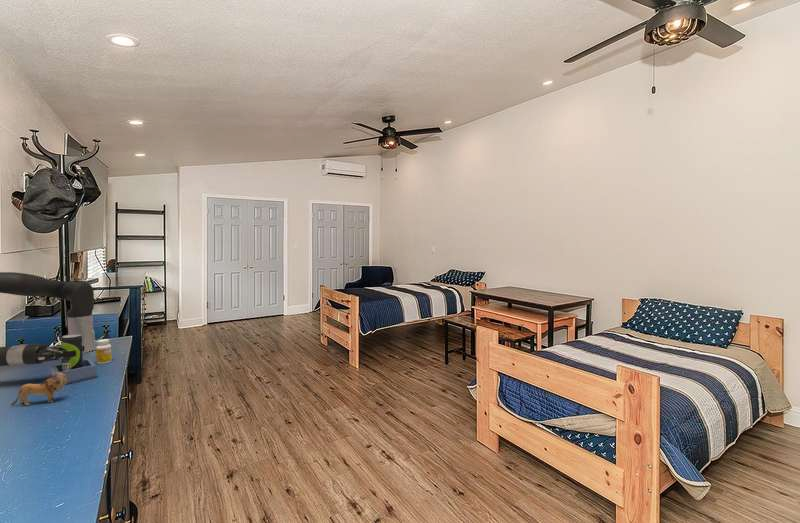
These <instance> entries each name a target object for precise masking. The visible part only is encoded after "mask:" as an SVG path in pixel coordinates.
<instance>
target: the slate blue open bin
mask: <svg viewBox="0 0 800 523" xmlns="http://www.w3.org/2000/svg"><path fill="white" fill-rule="evenodd" d="M50 366H51V367H50V368H51V377H53V376H54V375H55V374H58V373H62V374H65V375H66V380H67V382H66V384H67V385H70V384H69V383H71V384H75V383H79V381H80V382H82V381H83V380H84V381H88V380H87V379H89V380H93V379H97V378H98V375H97V374H98V373H97V364H95V362H94V361H93V360H92V358H86V359H85V358H84V359H83V367H81V368H76V369H71V370H66V371H62V363H59V364H53V365H50ZM74 382H75V383H74Z"/></svg>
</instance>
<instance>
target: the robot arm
mask: <svg viewBox="0 0 800 523" xmlns="http://www.w3.org/2000/svg"><path fill="white" fill-rule="evenodd" d="M94 291H95V290H94V288H93V285H91V284H90V283H88V282H85V281H84V282H83V281H60V280H52V279H49V278H46V277H44V276H43V277H42V276H40V275H35V274H29V273H25V272H24V273H23V272H12V271H11V272H10V271H5V272H4V271H1V272H0V294H5V295H6V294H7V295H14V296H21V297H22V296H23V297H50V298H54V299H55V298H56V299H60V300H66V301H69V302H71V308H70V309H68V310H67V312H66V318H67V319H66V321H67V322H66V323H67V331H68V332H67V335H70V334H81V336H82V351H83V354H86V353H89V351H90V352H93V351H96V347H97V346H96V336H95V335H96V334H95V330H94V321H93V310H94V308H95V294H94V293H95V292H94ZM92 350H93V351H92ZM76 355H77V353H76V351H64V352H63V351H61V344H57V345H54V346H50V347H47V346H46V345H45V344H44V343H32V344H31V343H29V344H19V345H12V346H11V345H10V346H9V345H7V346H0V367H4V366H5V367H6V366H26V365H41V364H43V363H44V362H51V361H53V362H54V361H58V360H60V359H62V358H64V357H75V356H76Z"/></svg>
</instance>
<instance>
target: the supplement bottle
mask: <svg viewBox="0 0 800 523" xmlns="http://www.w3.org/2000/svg"><path fill="white" fill-rule="evenodd" d="M95 347H96V350H95V354H96V355H95V356H96V363H97V364H99V365H102V364H104V363H105V364H108V363H111V362H112V361H113V354H112V352H113V351H112V345H111V343H110V339H108V338H104V339H103V338H101V339H100V340H99V339H98V340H97V346H95ZM105 364H104V365H105Z"/></svg>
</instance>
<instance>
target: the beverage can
mask: <svg viewBox="0 0 800 523" xmlns="http://www.w3.org/2000/svg"><path fill="white" fill-rule="evenodd" d="M60 341H61V342H60V345H61V351H63V352H64V351H76V353H77V355H76V356H75V357H64V358H61V364H62V371H66V370H71V369H76V368H81V367H83V360H84V359H83V357H84V355H83V354H84V353H83V351H82V336H81V334H70V335H68V334H66V335H63V336H61V339H60Z"/></svg>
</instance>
